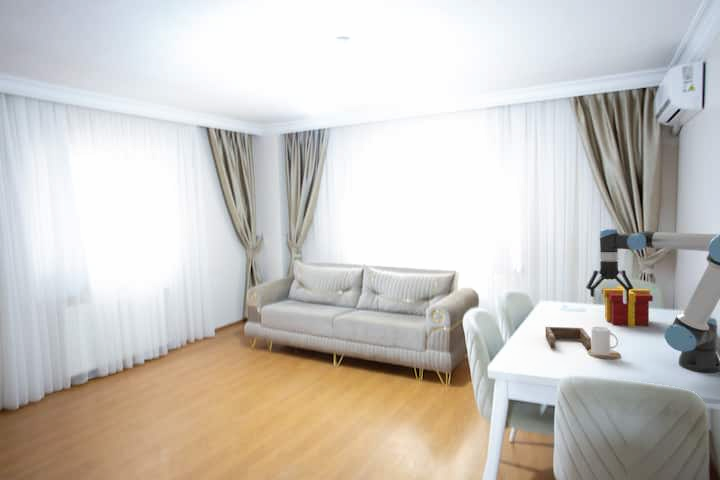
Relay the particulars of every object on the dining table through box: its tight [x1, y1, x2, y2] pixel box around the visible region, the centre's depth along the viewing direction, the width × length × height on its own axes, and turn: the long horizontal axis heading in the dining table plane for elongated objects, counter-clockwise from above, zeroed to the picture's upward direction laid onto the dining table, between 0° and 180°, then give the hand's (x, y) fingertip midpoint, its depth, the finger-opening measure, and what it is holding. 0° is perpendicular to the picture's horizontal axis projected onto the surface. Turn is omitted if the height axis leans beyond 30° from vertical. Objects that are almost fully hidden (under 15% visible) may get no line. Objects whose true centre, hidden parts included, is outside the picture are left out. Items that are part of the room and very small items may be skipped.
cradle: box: [545, 326, 592, 351], centre depth 238 cm, size 20×19×6 cm
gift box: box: [601, 285, 654, 328], centre depth 274 cm, size 25×25×20 cm
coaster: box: [587, 348, 621, 360], centre depth 218 cm, size 14×14×1 cm
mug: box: [591, 326, 619, 355], centre depth 218 cm, size 12×8×12 cm
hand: (609, 303), depth 218 cm, fingers open, 13 cm apart
